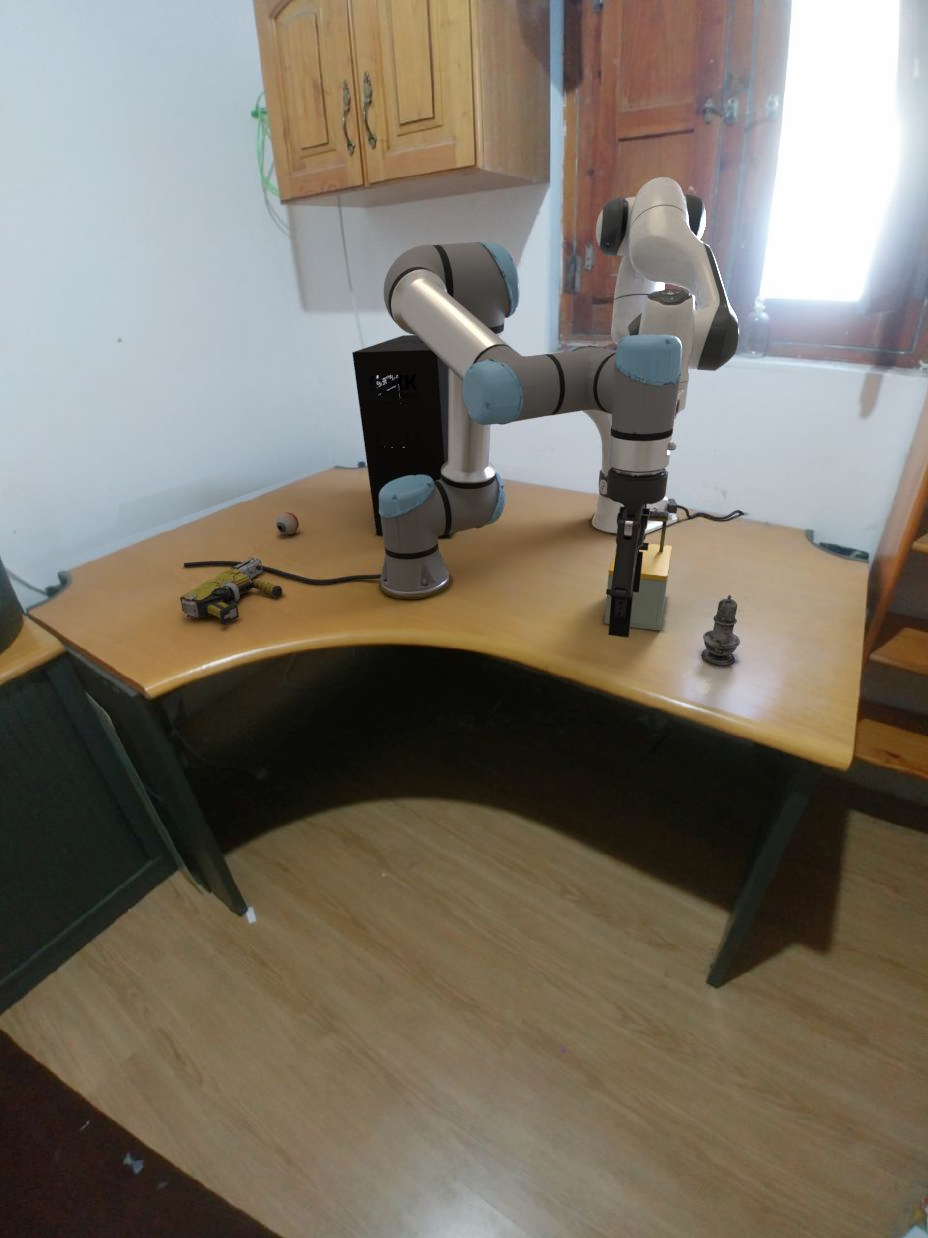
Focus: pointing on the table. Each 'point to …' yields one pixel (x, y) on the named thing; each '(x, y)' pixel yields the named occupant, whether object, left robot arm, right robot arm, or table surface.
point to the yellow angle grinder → (226, 592)
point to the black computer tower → (402, 412)
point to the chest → (644, 604)
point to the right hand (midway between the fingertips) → (650, 477)
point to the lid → (654, 553)
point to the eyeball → (287, 523)
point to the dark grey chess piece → (722, 635)
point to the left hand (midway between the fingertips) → (624, 611)
